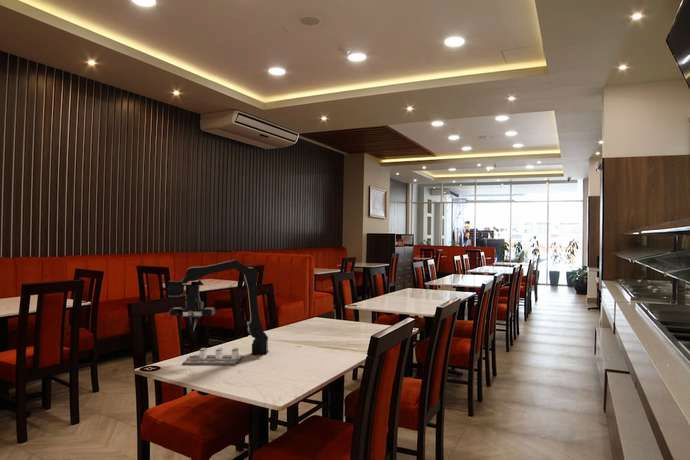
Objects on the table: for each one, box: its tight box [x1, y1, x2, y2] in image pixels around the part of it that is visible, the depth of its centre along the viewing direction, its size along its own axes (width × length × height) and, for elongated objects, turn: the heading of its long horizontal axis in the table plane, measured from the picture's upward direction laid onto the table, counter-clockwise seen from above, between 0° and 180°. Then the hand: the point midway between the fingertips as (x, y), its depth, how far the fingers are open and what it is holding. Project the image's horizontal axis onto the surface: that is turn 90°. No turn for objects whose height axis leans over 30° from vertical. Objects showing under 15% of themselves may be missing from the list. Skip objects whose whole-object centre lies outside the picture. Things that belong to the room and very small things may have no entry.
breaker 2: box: [215, 347, 224, 359], centre depth 198 cm, size 2×3×4 cm, turn 178°
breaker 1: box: [199, 347, 208, 359], centre depth 198 cm, size 2×3×4 cm, turn 178°
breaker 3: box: [231, 347, 239, 359], centre depth 198 cm, size 2×3×4 cm, turn 178°
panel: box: [182, 354, 245, 366], centre depth 198 cm, size 22×13×2 cm, turn 88°
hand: (192, 331), depth 202 cm, fingers closed
